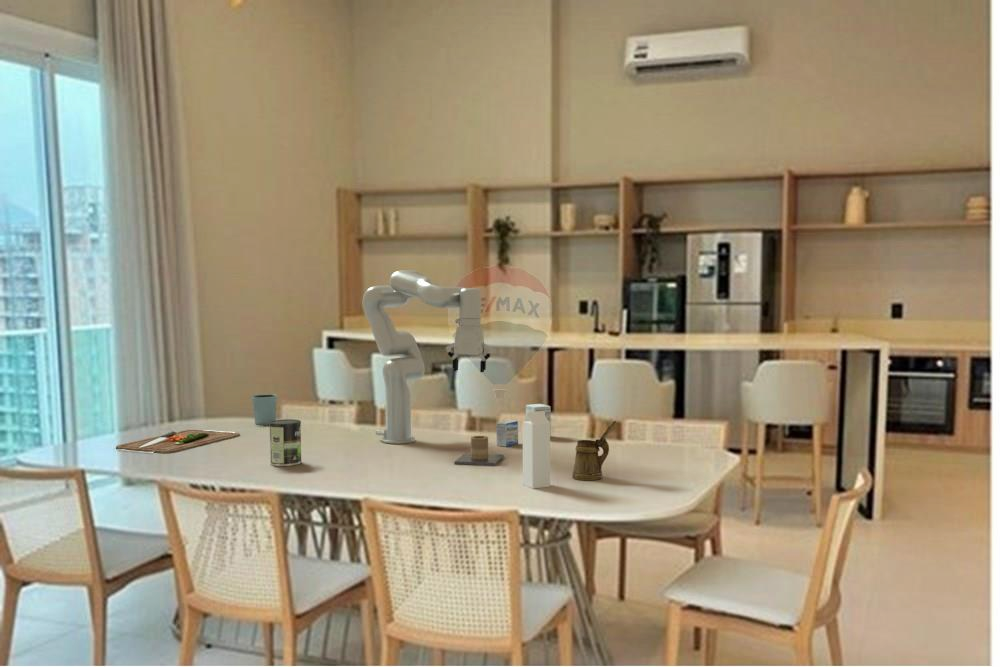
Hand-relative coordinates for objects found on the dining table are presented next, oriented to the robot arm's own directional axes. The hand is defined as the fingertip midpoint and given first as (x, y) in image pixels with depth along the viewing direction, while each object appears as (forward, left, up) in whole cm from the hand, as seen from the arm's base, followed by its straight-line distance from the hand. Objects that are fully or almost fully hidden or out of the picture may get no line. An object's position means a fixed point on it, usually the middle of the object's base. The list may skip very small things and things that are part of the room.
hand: (469, 371), depth 302 cm
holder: (+7, -15, -29) cm, 33 cm away
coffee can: (-56, -30, -29) cm, 70 cm away
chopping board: (-113, 0, -30) cm, 117 cm away
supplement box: (+20, +32, -29) cm, 47 cm away
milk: (+31, -47, -29) cm, 63 cm away
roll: (+7, -15, -28) cm, 32 cm away
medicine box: (+11, +15, -29) cm, 34 cm away
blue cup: (-101, +46, -29) cm, 115 cm away
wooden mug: (+47, -34, -29) cm, 65 cm away
